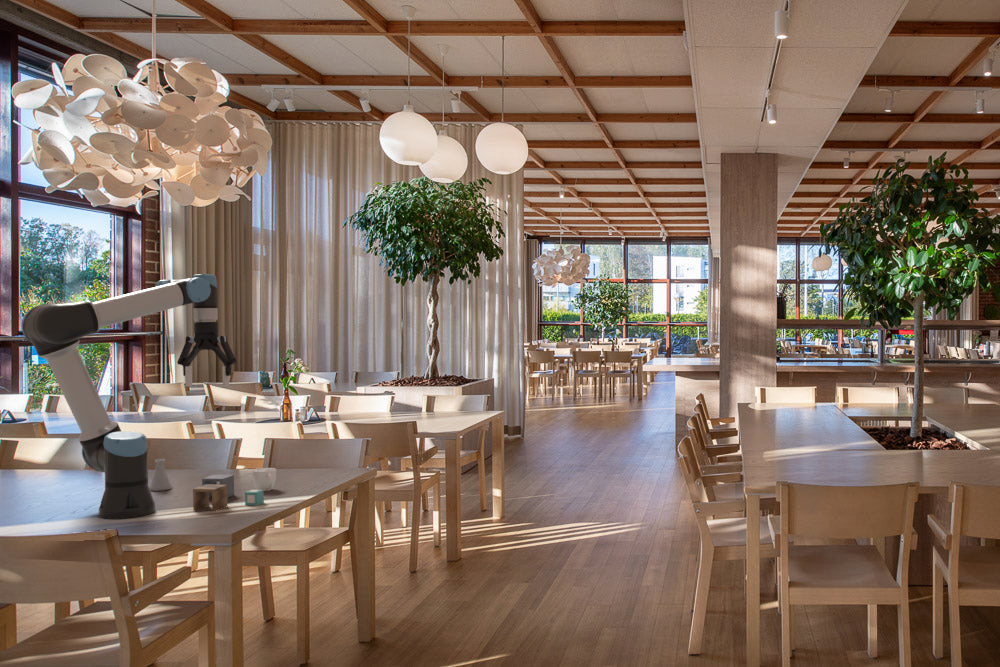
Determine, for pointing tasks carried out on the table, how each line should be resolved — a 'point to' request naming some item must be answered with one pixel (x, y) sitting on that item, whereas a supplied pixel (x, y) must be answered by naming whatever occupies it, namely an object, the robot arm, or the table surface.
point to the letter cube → (254, 497)
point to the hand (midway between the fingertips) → (207, 386)
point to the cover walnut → (203, 496)
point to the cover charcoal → (223, 480)
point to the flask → (160, 477)
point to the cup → (264, 478)
